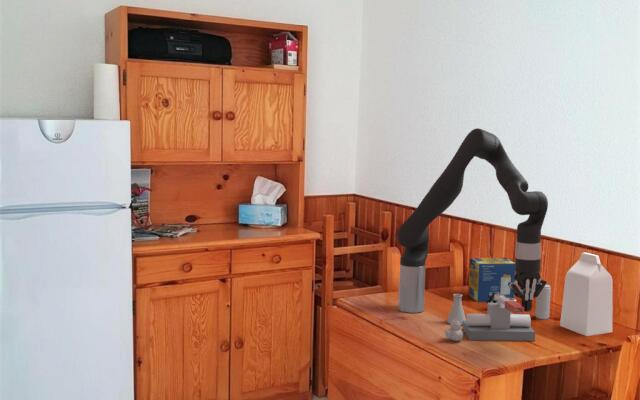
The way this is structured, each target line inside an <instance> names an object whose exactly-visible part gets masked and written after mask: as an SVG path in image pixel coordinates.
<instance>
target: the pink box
mask: <svg viewBox="0 0 640 400" xmlns="http://www.w3.org/2000/svg"><path fill="white" fill-rule="evenodd" d="M494 299H495V301H499V302H500V303H502V304H503V305H505V308H506V309H507V310H509V311H510V312H512V313H513V314H525V311H524V306H522V304H521V303H520V302H517V300H516V301H511V300H509V299H508V298H506V297H505V296H504V295H502V294H495V295H494Z"/></svg>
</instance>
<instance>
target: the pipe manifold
mask: <svg viewBox="0 0 640 400" xmlns="http://www.w3.org/2000/svg"><path fill="white" fill-rule="evenodd" d="M487 306H488V308H487V310H486V311H487V312H486V313H467V314H466V320H467V321H463V325H462V331H463V333H464V334H465V335H466V337H467V339H468V340H469V341H509V342H510V341H511V342H513V341H514V342H515V341H516V342H518V341H521V342H524V341H525V342H535V341H536V331H535V330H534V329H533V328H532V326H531V325H532V323H531V322H532V319H531V315H530V314H525V313H524V314H511V312H510V311H509V310H507V309H506V308H505V305H503V304H502V303H500V302H499V301H497V303H492V302H490V303H488V304H487Z"/></svg>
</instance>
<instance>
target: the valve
mask: <svg viewBox="0 0 640 400" xmlns="http://www.w3.org/2000/svg"><path fill="white" fill-rule="evenodd" d="M495 294H496V293H492V296H490V295H488V298H489V300H487V301H486V302H485V304H486V305H487V306H486V307H487V308H488V303H497V301H495V299H492V298H493V297H494V295H495ZM508 299H509V300H511V301H516V302H517V299H516V298H515V297H514V298H508ZM491 301H492V302H491ZM511 314H513V313H512V312H511Z"/></svg>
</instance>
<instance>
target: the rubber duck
mask: <svg viewBox="0 0 640 400" xmlns="http://www.w3.org/2000/svg"><path fill="white" fill-rule="evenodd" d="M461 326H462V325H461V324H460V323H459V321H458V320H457V317H456V319H453V320H452V321H451V323H450V324H449V327H450V328H448V329H445V330H444V334H445V338H446V339H449V340H451V341H453V342H458V341H462V340H463V337H464V331H463V329H461Z"/></svg>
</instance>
